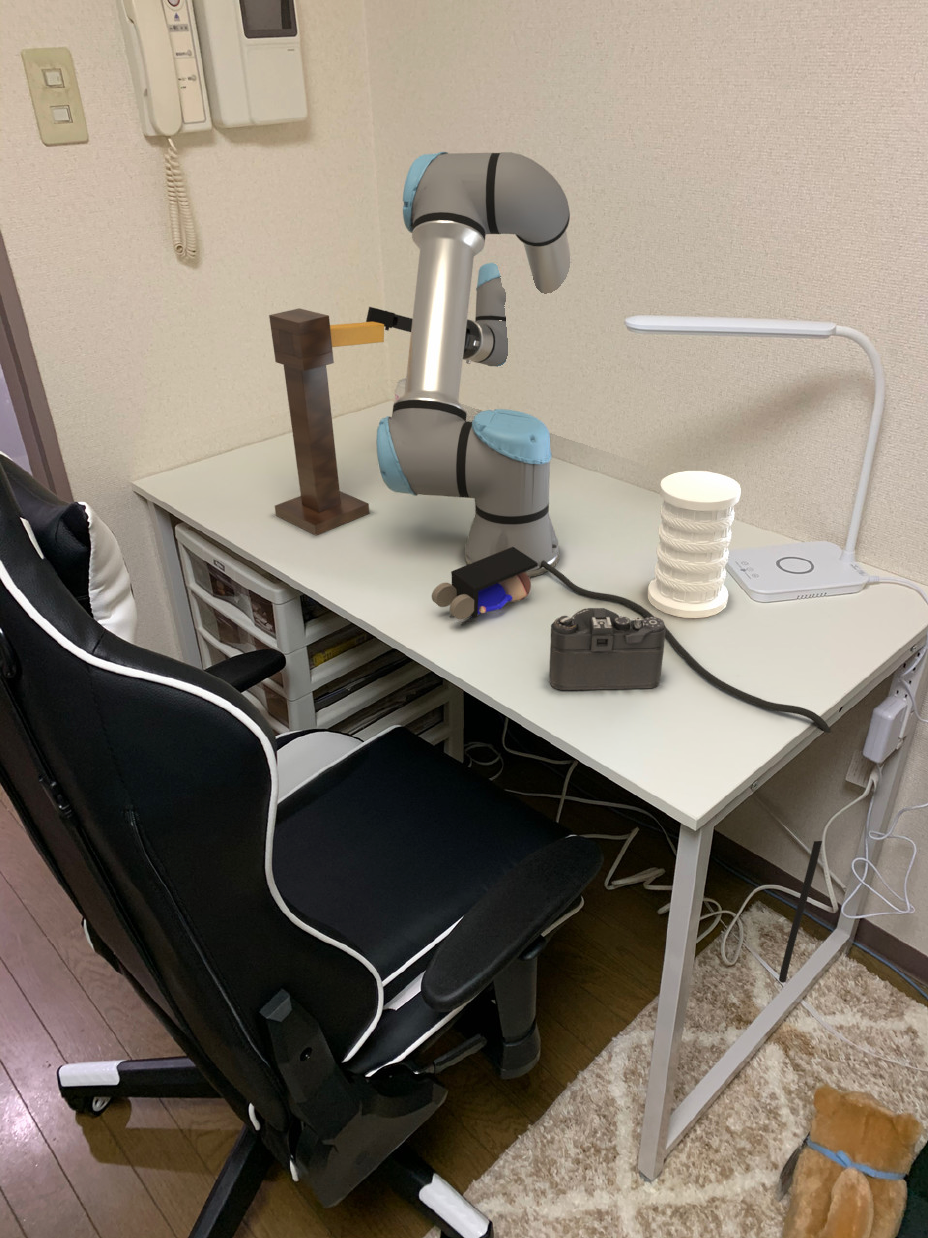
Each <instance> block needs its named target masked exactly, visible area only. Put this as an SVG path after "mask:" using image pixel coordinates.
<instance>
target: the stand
mask: <svg viewBox="0 0 928 1238" xmlns="http://www.w3.org/2000/svg"><path fill="white" fill-rule="evenodd" d="M268 317H269V318H268V319H269V325H270V332H271V339H272V347H273V353H274V361H275V363H277V364H280V365H283V371H284V378H285V387H286V394H287V402H288V410H289V417H290V423H291V433H292V439H293V446H294V455H295V462H296V470H297V477H298V485H299V492H300V495H299V496H297V497H294V498H292V499H288V500H286V501H283V502H280V503H278V504H275V505H274V512H275V516H276V517H278V518H280V519H282V520H284V521H286V522H288V523H290V524H292V525H294V526H296V527H298V528H300V529H302V530H304V531H305V532H308V533H310V534H312V535H314V536H318V535H321V534H323V533H326V532H328V531H331V530H333V529H335V528H339V527H340V526H342V525H345V524H348V523H350V522H352V521H355V520H357V519H360V518H363V517H364V516H367V515H369V514H370V503H368V502H367V501H364V500H362V499H359V498H357V497H356V496H353V495H350V494H348V493H346V492H343V491H341V489H340V482H339V480H340V479H339V473H338V472H339V471H338V462H337V453H336V444H335V443H336V442H335V435H334V426H333V425H334V423H333V416H332V415H333V414H332V407H331V397H330V387H329V378H328V369H327V366H329V365H332V364H334V363H335V360H334V351H333V347H332V340H331V330H330V325H331V323H330V322H331V320H330V315H328V314H323V313H319V312H316V311H312V310H309V309H303V308H294V309H290V310H286V311H281V312H277V313H272V314H269V315H268Z"/></svg>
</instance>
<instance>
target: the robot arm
mask: <svg viewBox="0 0 928 1238" xmlns="http://www.w3.org/2000/svg"><path fill="white" fill-rule="evenodd" d="M402 202H403V205H402V215H403V216H402V218H403V223H404V226H405V229H406V230H407V231H408V232H409V233H411V239H412V242H413V243H414V244H415V245H416V247H417V248H418V249H419V255H418V264H417V274H416V283H415V284H416V285H415V290H414V291H415V293H414V301H413V311H412V317H408V316H404V315H400V314H396V313H395V312H392V311H388V310H384V309H380V308H376V307H373V306H368V311H367V315H366V318H365V319H366V320H365V322H377V323H381V324H384V331H387V332H388V331H389V330H390V329H397V330H399V331H400V330H401V331H404V332H408V333H410V337H409V338H410V339H409V347H408V348H409V349H408V356H407V367H406V374H405V378H406V383H405V392H404V395H403V396H402V397H401V398H400V399H398V400H397V401H395V400H394V403H393V404H392V412H391V413H392V414H391V416H385V417H382V418H380V421H379V422H378V426H377V428H376V438H375V439H376V440H375V441H376V457H377V463H378V469H379V473H380V476H381V478H382V480H383V483H384V484H385V486H386V487H387V489H389V490H390V491H392V492H394V493H398V494H408V495H412V496H414V497H417V496H418V495H419V496H439V497H451V498H464V499H467V498H468V499H474V516H473V520H472V522H471V526H470V529H469V533H468V536H467V538H466V541H465V545H464V560H465V562H466V565H468V564H471V563H473V562H476V561H478V560H481V559H483V558H486V557H488V556H491V555H493V554H496V553H498V552H501V551H503V550H506V549H508V548H511V547H515V548H516V549H518V550H519V551H521V552H522V553H524V554H525V555H527V556H528V557H529V558H531V559H532V560H534V561H535V562H537V563H538V566H537V567H535V568H533V569H530V570H528V571H525V573H526V574H527V575H528V577H529V578H532V577H533V578H534V577H537V576H539V575H542V574H545V573H547V572H549V573H551V575H553V576H554V577H556V578H557V579H558V580H559V581H561V582H562V583H563V584H564V586H566V587H567V588H569V589H570V590H571V591H573V592H574V593H577V594H578V595H581V596H585V597H587V598H593V599H598V600H606V601H611V602H616V603H618V604H619V603H620V604H622V605H624V606H627V607H629V608H631V609H632V610H634V611H635V612H637V613H639V614H641V616H642V617H644V619H645V618H647V617H655V615H653V614H652V613H651V612H650V611H648V610H647V609H646V608H644V607H643V606H642V605H640V604H638V603H636V602H635V601H632V600H630V599H628V598H627V597H623V596H620V595H617V594H610V593H604V592H597V591H593V590H592V591H591V590H588V589H585V588H582V587H580V586H578V585H576V584H575V583H574V582H572V580H570V579H569V578H568V577H567V576H566V575H564V574H563V573H562V572H561V571H559V570H558V569H556V568H555V566H556V565H557V564H558V563H559V560H560V546H559V541H558V538H557V535H556V532H555V528H554V526H553V522H552V519H551V516H550V474H551V472H550V470H551V469H550V468H551V460H552V456H553V455H552V451H551V433H550V431H549V429H548V426H547V425H546V424H545V423H544V422H543V421H542V420H541V419H539V418H537V417H536V416H534V415H531V414H530V413H529V414H528V413H527V412H523V411H518V410H514V409H505V408H494V410H492V409H487V410H486V409H485V410H482V411H480V412H478V413H477V414H475V416H474V417H473V419H472V421H467V415H468V412H467V410H466V409H465V408H464V406H463V405H462V403H461V402H460V401H459V398H460V390H461V381H462V372H463V364H464V363H463V362H464V361H465V364H467V365H470V364H471V363H477V364H482V365H486V366H488V367H495V368H496V367H497V368H499V367H498V366H501V365H503V364H504V363H505V362H506V359H507V356H508V338H507V327H506V316H505V308H504V307H505V306H504V305H505V302H506V292H505V289H504V288H503V287H502V283H501V278H500V277H501V276H500V273H499V270H498V266H497V265H496V264H494V263H495V262H488V263H484V264H482V265H481V266H480V267H479V269H478V272H477V273H478V275H477V284H476V287H475V291H476V294H475V295H476V296H475V297H476V298H475V318H474V319H475V320H473V319H468V314H469V304H470V295H471V287H472V277H473V276H472V275H473V268H474V258H475V256H477V255H479V254H480V253H481V252H483V250H484V248H485V244H486V236H487V235H515V237H516V238H517V239H518V240H519V241H520V242H521V243H523V248H524V251H525V254H526V258H527V262H528V265H529V269H530V272H531V276H533V280H534V283H535V286H536V288H537V289H538V290H539V291H540V292H541V293H544V294H547V293H552V292H553V291H555V290H557V289H558V288H559V287H560V286H561V284H562V283H563V282H564V280H565V279H566V277H567V274H568V272H569V268H570V263H572V261H571V262H570V256H571V251H570V245H569V239H568V238H569V237H568V232H567V229H568V227H569V225H570V221H571V220H570V219H571V213H570V205H569V201H568V198H567V196H566V193H565V192H564V189H563V187H562V186H561V184H560V183H559V182H558V180H557V179H556V178H555V177H554V176H553V175H552V173H550V172H549V171H548V170H547V169H546V168H545V167H543V165H541V164H540V163H538V162H536V161H535V160H534V159H532V158H529V157H528V156H525V155H523V154H520V153H516V152H512V151H511V152H509V151H508V152H507V151H503V152H459V153H455V152H454V153H453V152H450V153H449V152H447V151H440V152H437V153H426V154H422V155H420V156H418V157H416V158H415V159H414V160H413V162H412V163H411V165H410V167H409V168H408V171H407V174H406V177H405V181H404V187H403V194H402ZM499 320H502V321H499ZM665 640H667V641H668V643H669V644H670V645H671V646H672V647H673V649H674V650H675V651H676V652H677V653H678V654H679V655H680V656H681V657H682V658H683V660H685V662H686V663H687V664H688V665H689V666H690V667H691V668H692V669H693V670H694V671H695V672H696V673H698V674H699V675H700V676H701V677H702V678H704V679H705V680H706V681H708V682H709V683H711V684H712V685H714V686H716V688H719V689H720V690H722V691H724V692H726V693H728V694H729V695H731V696H734V697H735V698H738V699H741V700H743V701H746V702H748V703H750V704H752V705H755V706H757V707H760V708H762V709H766V710H769V711H773V712H774V711H775V712H780V713H787V714H795V715H799V716H802V717H805V718H807V719H809V720H811V721H812V722H814V723H815V724H816V725H817V726H818V727H819V729H820V730H821V731H822V732H824V733H826V734H830V733H831V732H832V730H831V728H830V726H829V725H828V723H827V722H826V721H825V719H823V718H822V717H821V716H820V715H819V714H818V713H816V712H815V711H812V710H810V709H808V708H805V707H802V706H801V707H800V706H797V705H796V706H795V705H790V704H782V703H777V702H772V701H767V700H765V699H762V698H759V697H757V696H755V695H752V694H750V693H747V692H745V691H743V690H741V689H738V688H736V687H734V686H732V685H730V684H728V683H726V682H724V681H723V680H721V679H720V678H718V677H716V675H713V674H712V673H711V672H709V671H708V670H707V669H706V668H704V667H703V666H702V665H701V664H700V663H699V662H698V661H697V660H696V659H695V658H694V657H693V656H692V655H691V654H690V653H689V652H688V651H687V650H686V649H685V648H684V647H683V646H682V645H681V643H680V642H679V641H678V640H677V638H676V637H675V635H673V634H672V633H671V631H670V630H669V629H668V628H667V627H666V631H665ZM822 844H823V841H822V840H813V844H812V848H811V852H810V857H809V861H808V864H807V868H806V873H805V877H804V880H803V884H802V888H801V891H800V895H799V899H798V901H797V905H796V908H795V909H796V910H795V913H794V917H793V920H792V924H791V927H790V932H789V935H788V940H787V943H786V945H785V951H784V953H783V954H784V955H783V959H782V963H781V967H780V971H779V977H778V981H779V982H780V983H782V984H784V983H786V981H787V977H788V973H789V969H790V964H791V960H792V957H793V952H794V948H795V945H796V941H797V936H798V934H799V929H800V926H801V923H802V919H803V915H804V912H805V908H806V904H807V901H808V898H809V894H810V890H811V887H812V883H813V880H814V876H815V872H816V868H817V864H818V860H819V857H820V852H821V848H822Z"/></svg>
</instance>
